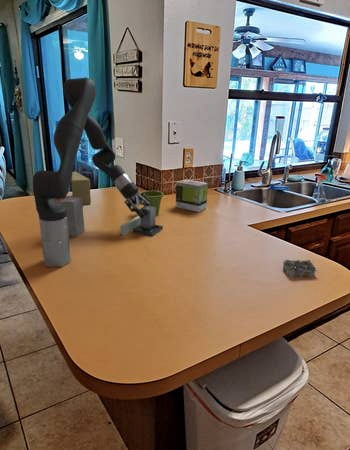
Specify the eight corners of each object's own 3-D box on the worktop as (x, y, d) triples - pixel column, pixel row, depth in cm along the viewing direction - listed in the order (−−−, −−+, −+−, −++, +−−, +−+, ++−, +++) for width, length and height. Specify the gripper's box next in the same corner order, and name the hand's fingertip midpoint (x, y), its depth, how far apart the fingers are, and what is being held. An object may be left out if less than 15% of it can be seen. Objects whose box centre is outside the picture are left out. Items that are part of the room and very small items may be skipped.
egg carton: (286, 277, 119) (288, 267, 118) (280, 267, 126) (282, 257, 125) (316, 278, 119) (318, 268, 118) (309, 268, 126) (310, 258, 125)
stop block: (150, 233, 152) (150, 210, 148) (140, 231, 154) (140, 208, 150) (155, 229, 156) (155, 207, 152) (145, 227, 158) (145, 205, 154)
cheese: (66, 195, 202) (64, 171, 197) (83, 194, 207) (81, 170, 201) (73, 206, 184) (71, 179, 179) (91, 204, 188) (90, 178, 183)
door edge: (124, 235, 149) (124, 226, 147) (120, 234, 149) (120, 225, 148) (146, 221, 166) (146, 213, 164) (142, 220, 167) (142, 213, 165)
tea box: (206, 208, 190) (208, 182, 185) (198, 212, 182) (200, 186, 177) (184, 203, 197) (185, 178, 192) (174, 207, 189) (175, 181, 184)
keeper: (152, 236, 149) (152, 233, 148) (133, 232, 152) (133, 228, 152) (162, 229, 157) (162, 226, 157) (144, 225, 161) (144, 222, 160)
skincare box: (76, 237, 144) (74, 202, 138) (61, 236, 145) (58, 200, 140) (85, 230, 152) (83, 197, 146) (71, 229, 153) (68, 195, 147)
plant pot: (159, 209, 184) (159, 189, 180) (165, 216, 173) (166, 195, 169) (138, 211, 180) (138, 190, 176) (143, 218, 170) (143, 197, 166)
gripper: (122, 184, 144) (145, 214, 144) (139, 178, 156) (160, 205, 156) (112, 194, 148) (134, 223, 148) (129, 187, 160) (150, 214, 160)
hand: (147, 214), depth 152 cm, fingers open, 8 cm apart
